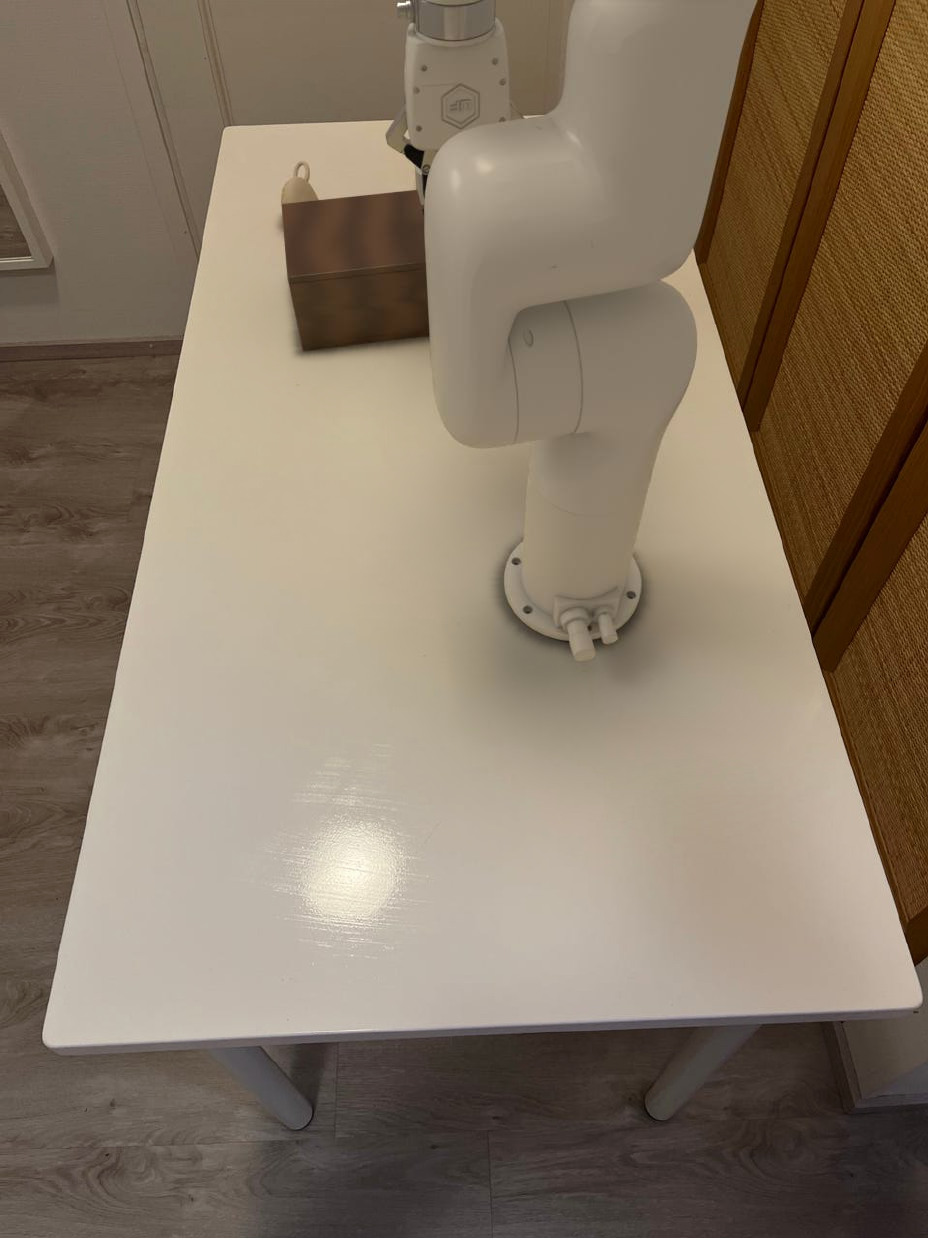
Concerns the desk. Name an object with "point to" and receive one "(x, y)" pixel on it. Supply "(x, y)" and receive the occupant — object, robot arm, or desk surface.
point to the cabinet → (357, 268)
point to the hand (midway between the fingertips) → (458, 198)
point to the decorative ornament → (298, 187)
